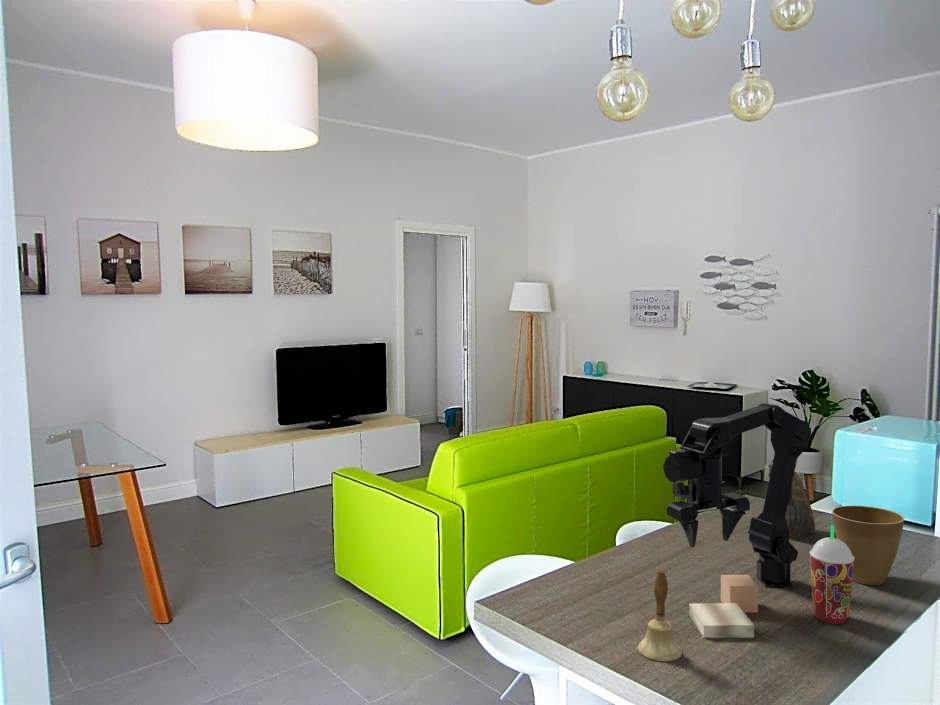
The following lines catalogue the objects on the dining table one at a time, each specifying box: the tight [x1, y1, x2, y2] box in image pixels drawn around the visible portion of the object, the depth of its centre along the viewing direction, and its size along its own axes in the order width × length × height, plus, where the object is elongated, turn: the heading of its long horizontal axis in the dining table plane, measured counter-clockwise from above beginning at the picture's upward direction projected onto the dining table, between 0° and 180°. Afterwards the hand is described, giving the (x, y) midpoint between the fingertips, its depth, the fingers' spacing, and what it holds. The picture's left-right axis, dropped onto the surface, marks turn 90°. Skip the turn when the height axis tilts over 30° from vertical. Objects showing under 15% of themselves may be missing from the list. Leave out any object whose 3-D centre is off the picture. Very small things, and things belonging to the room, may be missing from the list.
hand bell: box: [637, 569, 683, 662], centre depth 133 cm, size 8×8×16 cm
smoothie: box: [809, 524, 855, 625], centre depth 144 cm, size 8×8×20 cm
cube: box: [720, 574, 759, 614], centre depth 151 cm, size 6×6×6 cm
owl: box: [767, 460, 816, 541], centre depth 198 cm, size 13×13×20 cm
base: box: [688, 602, 755, 639], centre depth 143 cm, size 10×10×3 cm
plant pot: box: [831, 505, 905, 586], centre depth 164 cm, size 15×15×16 cm
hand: (709, 543), depth 155 cm, fingers open, 9 cm apart
